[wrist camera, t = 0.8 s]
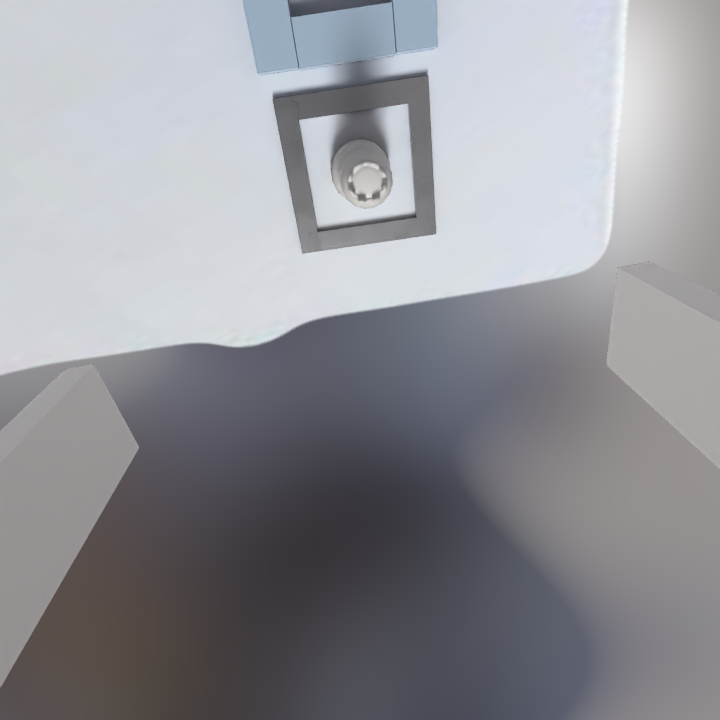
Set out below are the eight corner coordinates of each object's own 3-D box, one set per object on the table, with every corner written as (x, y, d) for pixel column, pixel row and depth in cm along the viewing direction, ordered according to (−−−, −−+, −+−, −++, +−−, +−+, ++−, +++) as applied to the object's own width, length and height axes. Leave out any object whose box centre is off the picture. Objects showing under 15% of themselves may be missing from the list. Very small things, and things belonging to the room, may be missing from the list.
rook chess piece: (399, 157, 34) (417, 165, 27) (372, 211, 35) (382, 233, 28) (347, 126, 32) (351, 126, 25) (321, 184, 34) (318, 200, 27)
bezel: (272, 99, 31) (272, 98, 31) (427, 75, 31) (428, 75, 31) (302, 252, 37) (302, 253, 36) (435, 233, 36) (435, 234, 36)
